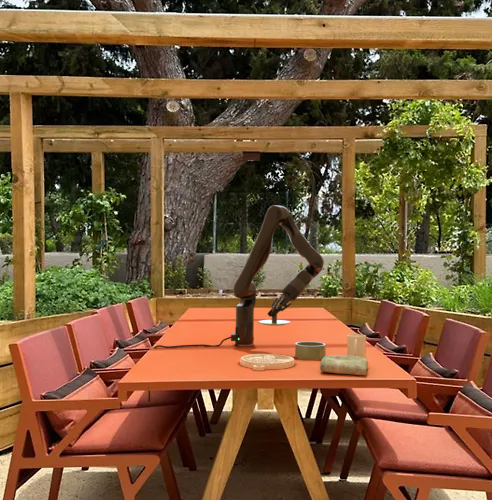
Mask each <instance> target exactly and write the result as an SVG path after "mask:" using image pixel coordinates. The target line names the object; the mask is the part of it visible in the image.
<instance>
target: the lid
mask: <svg viewBox="0 0 492 500" xmlns="http://www.w3.org/2000/svg"><path fill="white" fill-rule="evenodd" d="M271 309H272V312H273V310H274V309H276V306H271ZM258 324H261V325H264V326H273V327H274V326H286V325H290V324H291V321H290V320H284V319H278V314H277V315H276V316H275V317H272V316H271V319H263V320H258Z"/></svg>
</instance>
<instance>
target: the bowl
mask: <svg viewBox="0 0 492 500" xmlns="http://www.w3.org/2000/svg"><path fill="white" fill-rule="evenodd" d="M326 350H327V349H326V343H324V342H321V341H297V342H295V343H294V358H296V359H299V360H309V361H315V360H316V361H318V360H322V359H323V358H324V356H327V355H326V352H327V351H326Z"/></svg>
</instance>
